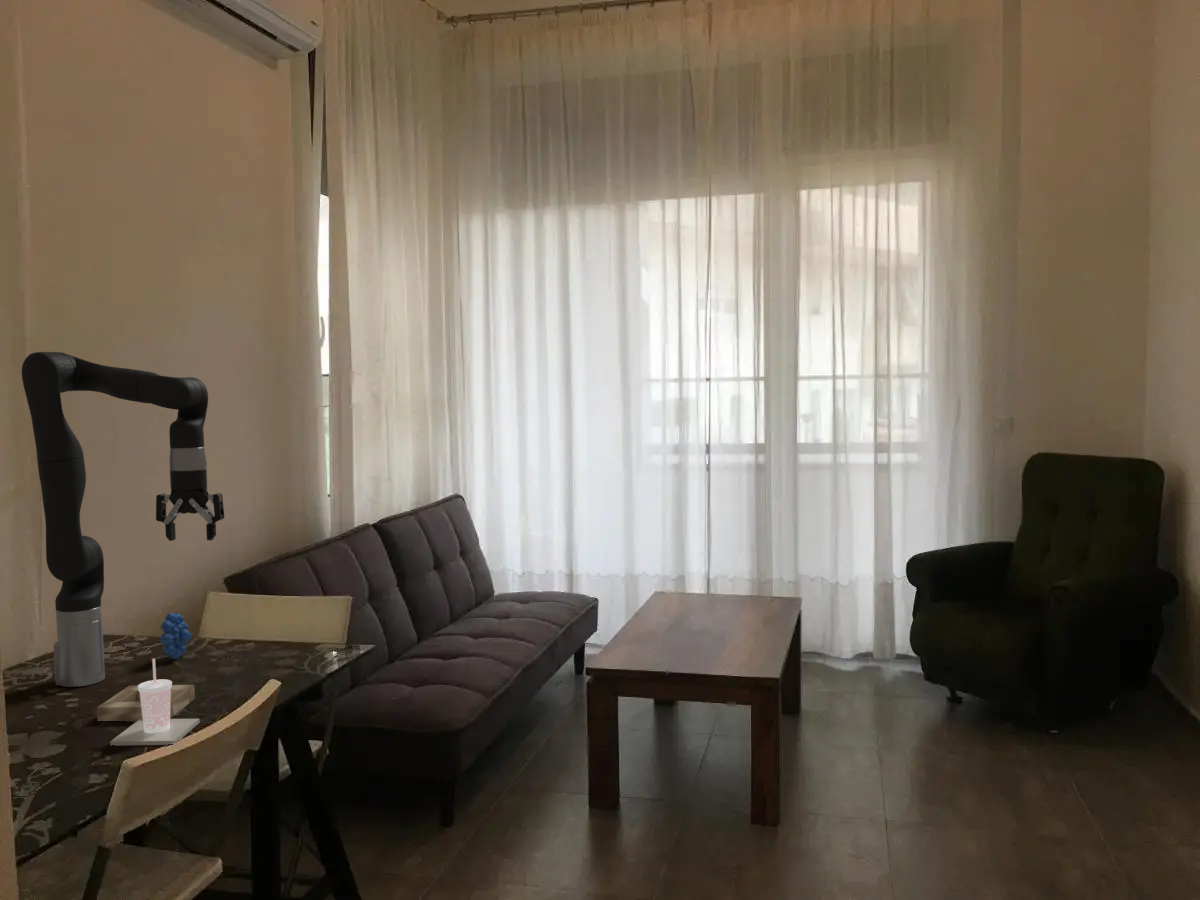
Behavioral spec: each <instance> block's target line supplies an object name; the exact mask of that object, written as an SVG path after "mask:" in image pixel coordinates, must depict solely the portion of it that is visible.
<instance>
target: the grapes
mask: <svg viewBox="0 0 1200 900" xmlns="http://www.w3.org/2000/svg"><path fill="white" fill-rule="evenodd" d="M164 620H165V621H163V622H161V623H162V624H161V625H160V629H161V630H162V631H163V632H164V633H163V634H161V636H160V637H159V641H160V642H161V644H162V645H164V646H163V647H162V651H163V652H164V654H165V655H166V656H169V657H170V659H172V660H174V659H175V660H178V659H180V657H181V655H183V654H184V653H186V651H187V648H186V646H185V644H187V643H188V641H190V639H191V638H192V636H193V635H192V633H191V632H190V631H189V630H188V628H189V625H188V624H187V623H186V621H184V620H185V617H184V616H183V615H182V614H181V613H179V612H175V613H174V612H169V613H168V614H167V615H166V616H165V618H164Z"/></svg>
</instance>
